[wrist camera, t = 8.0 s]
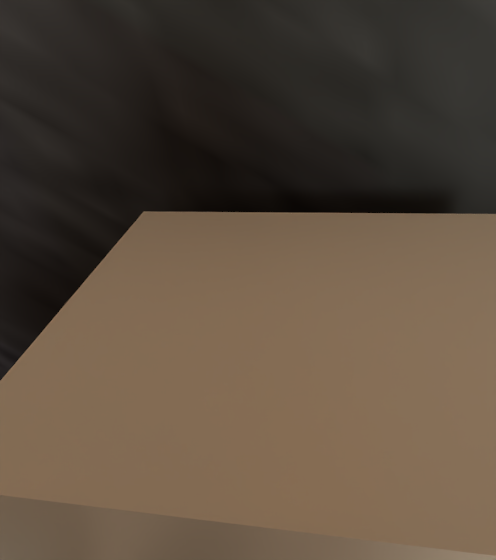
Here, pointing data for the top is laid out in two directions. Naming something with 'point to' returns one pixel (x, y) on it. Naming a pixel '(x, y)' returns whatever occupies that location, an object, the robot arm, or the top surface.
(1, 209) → the top surface
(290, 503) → the cream cube
